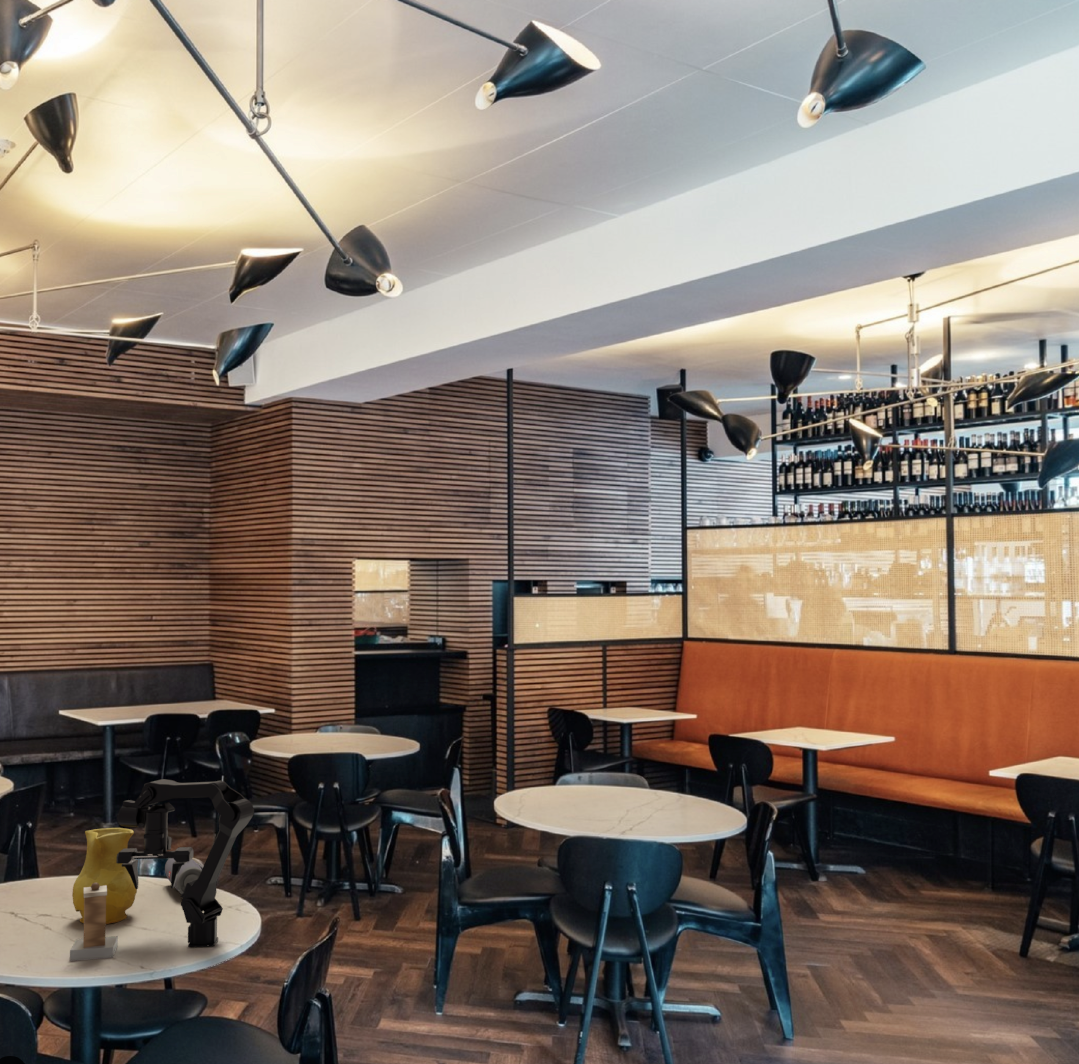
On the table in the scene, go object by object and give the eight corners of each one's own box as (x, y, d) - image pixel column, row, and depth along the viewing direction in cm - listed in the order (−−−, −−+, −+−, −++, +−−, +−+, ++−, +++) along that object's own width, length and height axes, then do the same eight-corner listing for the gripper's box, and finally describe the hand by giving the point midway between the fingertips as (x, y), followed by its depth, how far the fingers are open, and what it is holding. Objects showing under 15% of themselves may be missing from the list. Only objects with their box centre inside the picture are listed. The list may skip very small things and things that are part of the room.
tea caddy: (105, 938, 282) (106, 878, 282) (105, 945, 277) (107, 884, 277) (82, 940, 280) (83, 880, 280) (82, 947, 275) (83, 886, 275)
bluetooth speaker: (162, 885, 346) (162, 853, 347) (192, 882, 351) (193, 850, 351) (175, 902, 326) (175, 868, 327) (207, 898, 331) (208, 864, 331)
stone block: (117, 947, 285) (117, 935, 285) (112, 959, 275) (112, 947, 275) (76, 950, 282) (76, 938, 283) (69, 962, 273) (69, 950, 273)
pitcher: (55, 921, 305) (63, 830, 308) (109, 908, 322) (116, 822, 324) (98, 931, 297) (106, 838, 300) (151, 918, 314) (158, 829, 316)
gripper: (198, 821, 302) (197, 879, 301) (128, 823, 300) (126, 881, 299) (189, 829, 291) (188, 890, 290) (116, 831, 289) (115, 892, 288)
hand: (154, 888), depth 292 cm, fingers open, 9 cm apart
